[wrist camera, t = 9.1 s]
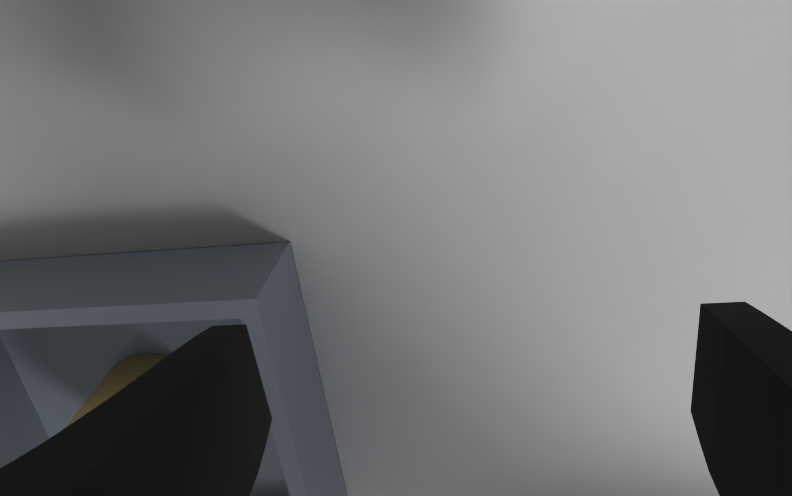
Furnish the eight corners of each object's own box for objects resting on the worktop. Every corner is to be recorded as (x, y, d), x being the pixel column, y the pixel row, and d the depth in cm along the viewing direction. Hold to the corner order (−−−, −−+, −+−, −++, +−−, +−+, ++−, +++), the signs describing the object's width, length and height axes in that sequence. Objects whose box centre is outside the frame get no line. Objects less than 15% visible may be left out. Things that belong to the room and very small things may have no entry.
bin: (289, 241, 21) (255, 299, 17) (350, 507, 26) (331, 588, 23) (-38, 263, 22) (-120, 318, 19) (80, 506, 28) (30, 580, 25)
